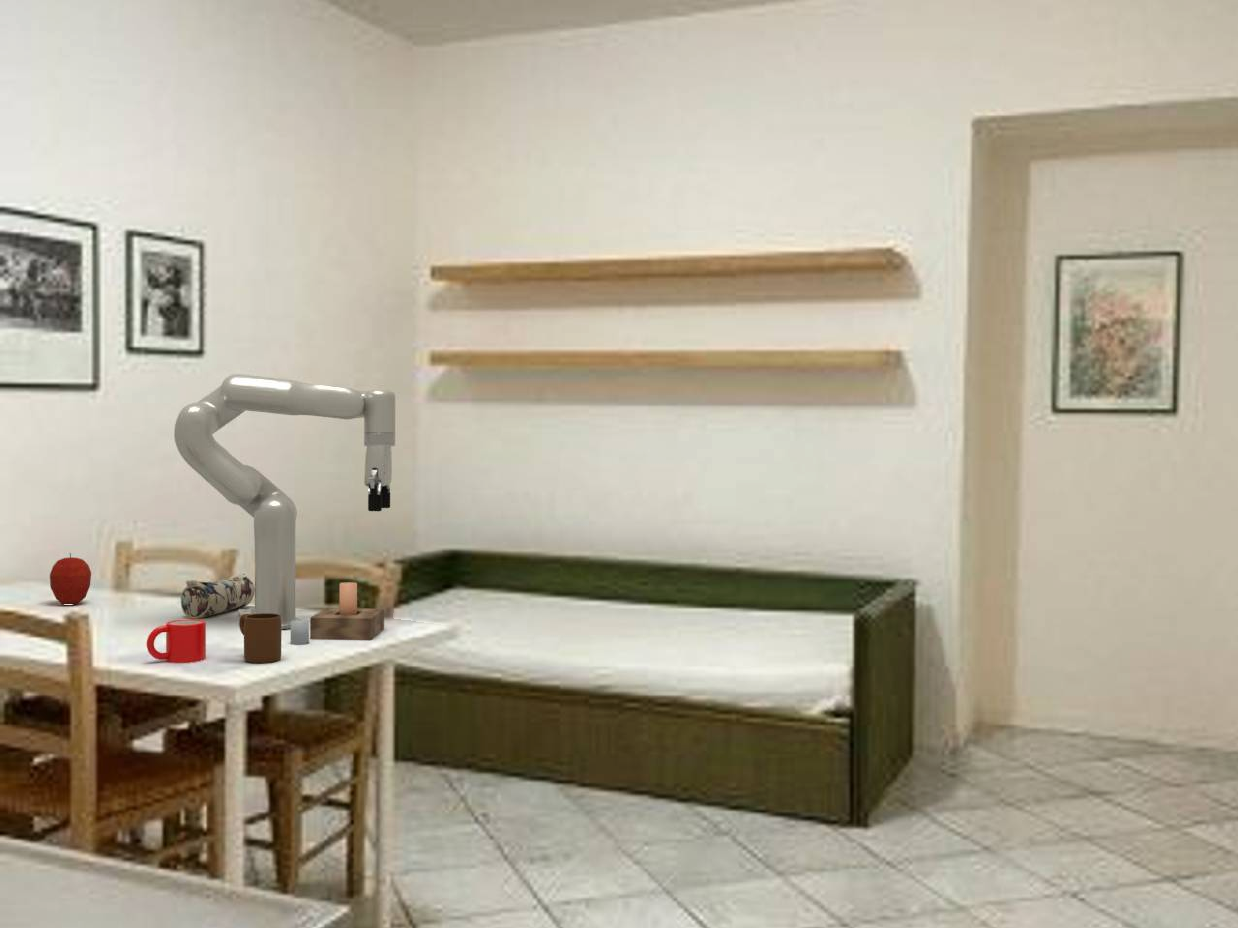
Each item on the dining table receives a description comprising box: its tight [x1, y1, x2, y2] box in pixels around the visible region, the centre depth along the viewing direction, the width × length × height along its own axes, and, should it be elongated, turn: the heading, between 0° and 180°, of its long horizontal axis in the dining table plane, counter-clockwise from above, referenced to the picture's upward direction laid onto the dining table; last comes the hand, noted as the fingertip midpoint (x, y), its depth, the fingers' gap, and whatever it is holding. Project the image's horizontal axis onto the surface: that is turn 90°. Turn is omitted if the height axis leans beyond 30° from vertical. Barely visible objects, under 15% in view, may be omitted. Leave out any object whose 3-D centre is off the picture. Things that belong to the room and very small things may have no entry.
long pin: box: [339, 581, 358, 615], centre depth 290 cm, size 4×4×12 cm
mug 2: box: [238, 613, 282, 664], centre depth 260 cm, size 12×8×9 cm, turn 49°
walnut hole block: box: [309, 607, 385, 641], centre depth 290 cm, size 14×14×5 cm
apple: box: [49, 552, 92, 605], centre depth 328 cm, size 10×10×14 cm
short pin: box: [290, 619, 310, 646], centre depth 278 cm, size 4×4×5 cm
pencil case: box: [180, 572, 255, 620], centre depth 318 cm, size 22×8×10 cm, turn 163°
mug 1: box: [146, 618, 207, 664], centre depth 257 cm, size 8×12×8 cm, turn 130°
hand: (379, 509), depth 304 cm, fingers open, 9 cm apart
